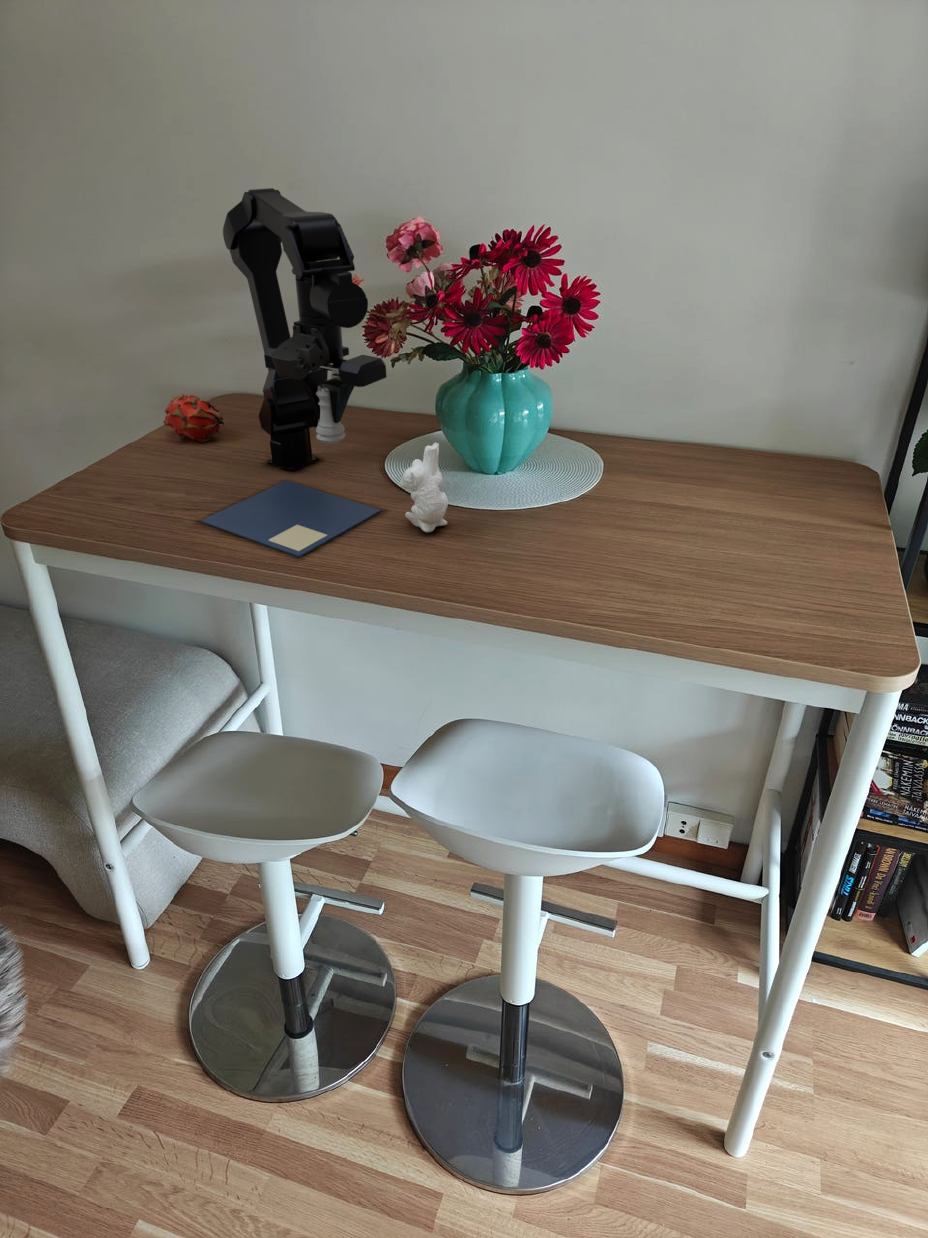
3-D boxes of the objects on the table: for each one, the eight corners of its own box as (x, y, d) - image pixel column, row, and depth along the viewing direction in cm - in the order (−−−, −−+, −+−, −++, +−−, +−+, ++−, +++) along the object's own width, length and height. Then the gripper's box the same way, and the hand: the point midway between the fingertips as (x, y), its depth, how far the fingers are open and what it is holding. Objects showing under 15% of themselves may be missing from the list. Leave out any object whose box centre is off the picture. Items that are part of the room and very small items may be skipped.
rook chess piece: (348, 441, 132) (344, 389, 128) (318, 445, 131) (313, 392, 127) (342, 432, 136) (338, 380, 131) (314, 435, 135) (308, 383, 130)
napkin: (285, 482, 144) (285, 480, 144) (381, 511, 135) (380, 509, 135) (201, 522, 132) (200, 520, 132) (299, 557, 122) (299, 555, 122)
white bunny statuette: (422, 510, 135) (420, 435, 129) (461, 519, 132) (461, 443, 126) (394, 533, 129) (390, 455, 122) (434, 542, 126) (433, 463, 120)
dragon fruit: (171, 438, 166) (225, 456, 163) (145, 425, 157) (201, 444, 154) (186, 396, 166) (240, 413, 163) (160, 380, 157) (217, 398, 154)
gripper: (229, 315, 122) (245, 424, 130) (332, 334, 113) (342, 449, 122) (285, 300, 130) (296, 404, 138) (385, 316, 121) (391, 426, 130)
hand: (329, 420), depth 132 cm, fingers closed on rook chess piece, 3 cm apart
